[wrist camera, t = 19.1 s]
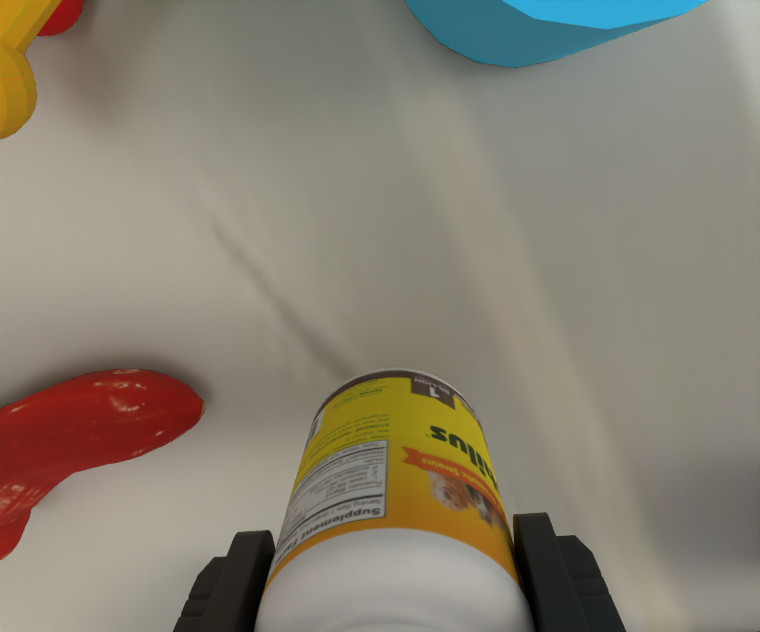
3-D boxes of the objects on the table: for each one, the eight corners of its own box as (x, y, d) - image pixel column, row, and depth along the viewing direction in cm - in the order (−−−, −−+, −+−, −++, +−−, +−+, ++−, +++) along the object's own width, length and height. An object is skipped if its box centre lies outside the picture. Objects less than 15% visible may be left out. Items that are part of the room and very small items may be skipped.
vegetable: (-6, 623, 21) (214, 435, 20) (-165, 582, 18) (81, 356, 17) (22, 527, 25) (210, 362, 23) (-106, 480, 22) (100, 286, 20)
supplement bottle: (506, 470, 18) (629, 867, 9) (358, 526, 19) (319, 938, 10) (439, 330, 17) (497, 627, 7) (280, 398, 17) (138, 741, 8)
